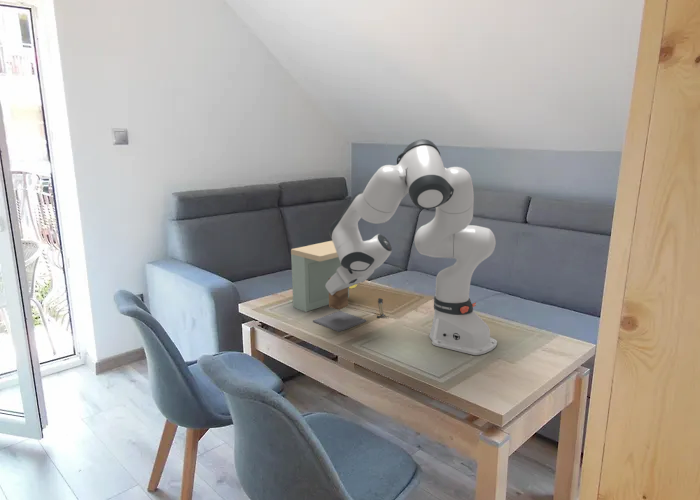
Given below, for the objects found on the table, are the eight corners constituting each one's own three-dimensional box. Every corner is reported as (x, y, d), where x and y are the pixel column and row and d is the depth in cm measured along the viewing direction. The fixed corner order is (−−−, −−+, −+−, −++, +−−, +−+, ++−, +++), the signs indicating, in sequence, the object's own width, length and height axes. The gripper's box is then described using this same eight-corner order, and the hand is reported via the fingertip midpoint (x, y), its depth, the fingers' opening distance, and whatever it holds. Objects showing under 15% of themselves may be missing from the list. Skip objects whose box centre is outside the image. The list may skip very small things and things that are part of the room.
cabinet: (364, 302, 206) (364, 245, 200) (321, 317, 189) (319, 256, 184) (336, 293, 217) (335, 239, 212) (293, 307, 201) (291, 249, 195)
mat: (366, 321, 185) (366, 319, 185) (339, 331, 175) (339, 330, 175) (340, 312, 195) (340, 310, 195) (312, 321, 185) (312, 320, 185)
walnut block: (348, 306, 184) (347, 277, 181) (339, 309, 180) (339, 280, 177) (337, 303, 187) (337, 275, 184) (328, 307, 183) (328, 278, 180)
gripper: (370, 256, 183) (349, 278, 191) (335, 268, 167) (314, 290, 175) (380, 270, 181) (359, 291, 189) (346, 283, 166) (324, 305, 174)
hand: (337, 291), depth 182 cm, fingers closed on walnut block, 5 cm apart
